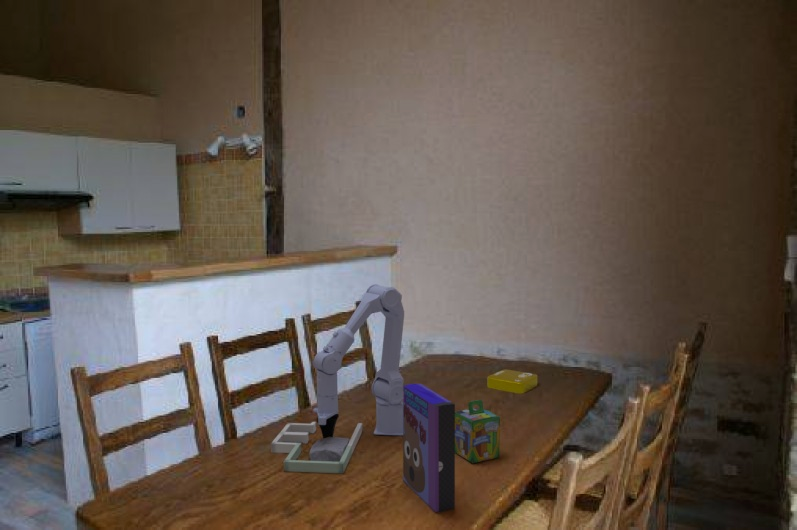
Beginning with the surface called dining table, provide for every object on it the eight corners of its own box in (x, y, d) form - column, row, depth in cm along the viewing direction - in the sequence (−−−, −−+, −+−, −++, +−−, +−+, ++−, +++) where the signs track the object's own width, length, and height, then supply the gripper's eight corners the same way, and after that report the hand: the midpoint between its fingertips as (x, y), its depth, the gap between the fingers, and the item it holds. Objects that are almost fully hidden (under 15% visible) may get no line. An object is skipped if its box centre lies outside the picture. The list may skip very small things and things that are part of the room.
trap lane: (362, 431, 181) (362, 423, 181) (343, 473, 152) (343, 463, 152) (289, 429, 184) (289, 421, 184) (257, 470, 154) (256, 460, 154)
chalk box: (472, 464, 157) (472, 409, 156) (453, 452, 165) (453, 399, 164) (501, 458, 161) (501, 403, 160) (481, 446, 169) (481, 394, 168)
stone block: (308, 471, 158) (345, 464, 157) (304, 453, 158) (341, 446, 157) (317, 454, 170) (352, 448, 169) (314, 438, 169) (348, 432, 169)
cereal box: (403, 481, 148) (402, 385, 146) (420, 477, 149) (420, 382, 147) (435, 513, 132) (435, 406, 130) (454, 508, 134) (454, 403, 131)
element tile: (503, 379, 238) (503, 367, 238) (539, 385, 229) (539, 373, 229) (485, 388, 227) (485, 375, 226) (521, 395, 218) (522, 382, 217)
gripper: (319, 386, 176) (320, 431, 178) (306, 401, 162) (307, 450, 163) (343, 386, 176) (343, 432, 177) (332, 402, 161) (333, 451, 162)
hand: (328, 441), depth 170 cm, fingers closed
